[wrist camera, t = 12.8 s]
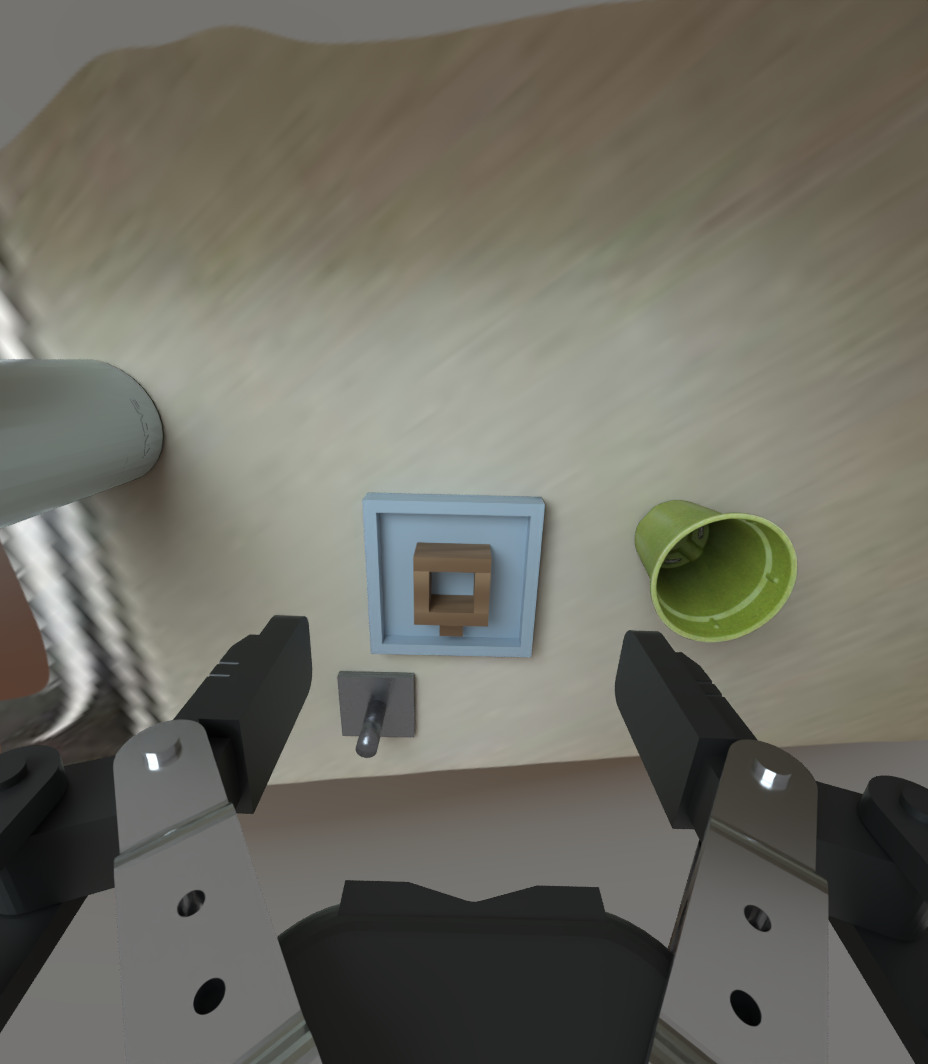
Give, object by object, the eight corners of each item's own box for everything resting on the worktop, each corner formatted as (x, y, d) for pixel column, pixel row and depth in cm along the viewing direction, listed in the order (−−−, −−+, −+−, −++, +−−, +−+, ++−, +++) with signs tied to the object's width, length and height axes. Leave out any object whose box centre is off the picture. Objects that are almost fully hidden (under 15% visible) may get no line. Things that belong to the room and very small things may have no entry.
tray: (375, 640, 42) (370, 653, 40) (367, 492, 37) (362, 499, 35) (528, 643, 42) (531, 657, 40) (540, 496, 37) (544, 504, 35)
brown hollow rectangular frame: (417, 542, 38) (413, 556, 35) (489, 544, 38) (491, 559, 35) (417, 625, 41) (414, 645, 38) (485, 627, 41) (486, 647, 38)
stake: (344, 729, 46) (328, 779, 40) (339, 671, 43) (321, 716, 38) (414, 731, 46) (408, 781, 41) (414, 673, 43) (406, 718, 38)
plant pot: (617, 593, 40) (655, 652, 32) (608, 491, 37) (648, 528, 29) (726, 575, 40) (793, 630, 32) (727, 469, 37) (802, 501, 28)
